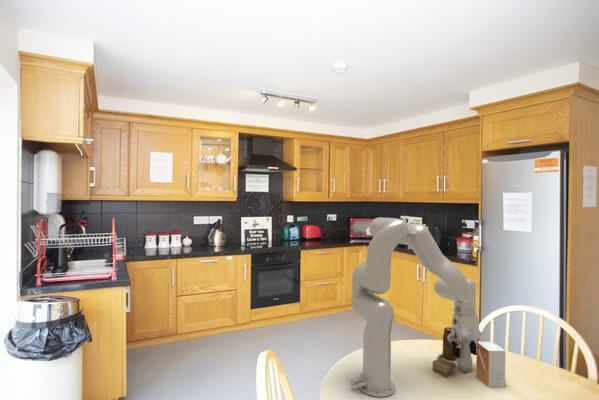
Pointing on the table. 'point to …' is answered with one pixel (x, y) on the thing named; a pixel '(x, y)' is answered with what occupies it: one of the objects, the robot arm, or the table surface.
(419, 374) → the table surface
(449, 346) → the condiment
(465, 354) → the salt shaker
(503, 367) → the small box
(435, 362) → the walnut block
